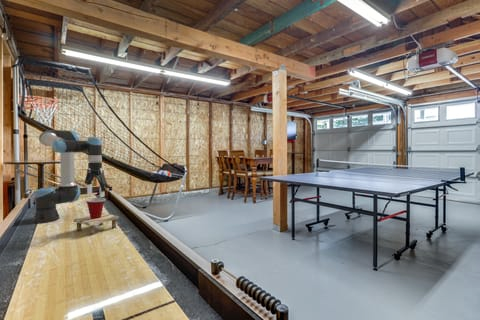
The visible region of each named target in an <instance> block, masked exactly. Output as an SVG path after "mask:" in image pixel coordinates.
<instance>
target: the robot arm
mask: <svg viewBox="0 0 480 320" xmlns="http://www.w3.org/2000/svg"><path fill="white" fill-rule="evenodd" d="M38 140H39V142H40V144H42V145H43V146H45V147H51V148H52V150H53V152H54V153H60V157H59V158H60V159H59V160H60V183H59V184H58V187H56V186H47V187H41V188H39V189H37V190H35V194H34V200H35V201H34V205H35V211H34V214H33V216H32V217H33V218H32V223H33V224H46V223H52V222H55V221H57V220H59V219H60V214H59V211H58V209H57V205H60V204H68V203H74V202H77V201H78V200H79V198H80V196H81V188H80V186H79V185H78V184H77V183H76V182H75V180H76V179H75V176H76V175H75V153H87V162H88V163H87V168H88V169H86V170H87V171H86V176H85V179H84V184H86V193H87V196H90V195H93V183H92V182H93V180H94V179H96V180H97V182H98V185H99V187H98V188H99V198H104V197H105V196H106V194H105V189H106V188H105V187H106V186H107V185H108V182H107V179H106V176H105V171H104V170H103V169H102V168H103V162H102V161H103V155H102V154H103V153H102V149H103V148H102V147H103V144H102V138H101V137H94V136H93V137H92V136H91V137H88V138H87V140H80V137H79V134H78V132H76V131H74V130H60V129H50V130H45V131H44V132H41V133H40V134H39V136H38Z"/></svg>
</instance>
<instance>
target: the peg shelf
mask: <svg viewBox="0 0 480 320" xmlns="http://www.w3.org/2000/svg"><path fill="white" fill-rule="evenodd" d="M117 220H119V215H114V214H110V213H105V212H102V215H101V218H97V219H91V218H90V215H86V216H81V217H78V218H74V219H73V222H74V223H76V232H81V231H83V230H82V225H85V226H88V227H89V236H94V235H95V226H96V225H99V226H104V223H107V222H111V229H113V230H114V228H115V229H116V228H117Z"/></svg>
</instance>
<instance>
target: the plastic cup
mask: <svg viewBox="0 0 480 320" xmlns="http://www.w3.org/2000/svg"><path fill="white" fill-rule="evenodd" d="M85 201H86V204H87V208H88V213H89V216H90V218H91V219H97V218H101V215H102V213H103V209H104V204H105V201H106V198H104V197H90V198H86V199H85Z"/></svg>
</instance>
